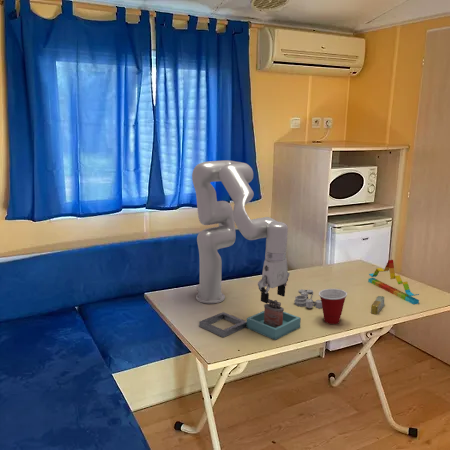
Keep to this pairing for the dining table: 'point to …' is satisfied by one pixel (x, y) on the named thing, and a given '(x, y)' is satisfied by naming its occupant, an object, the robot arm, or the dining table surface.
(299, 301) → the pulley system
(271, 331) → the tray
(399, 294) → the rainbow zigzag toy
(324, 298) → the plastic cup
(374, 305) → the medication box
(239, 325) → the gray square frame
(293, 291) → the dining table surface
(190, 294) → the dining table surface
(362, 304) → the dining table surface
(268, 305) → the lighter
